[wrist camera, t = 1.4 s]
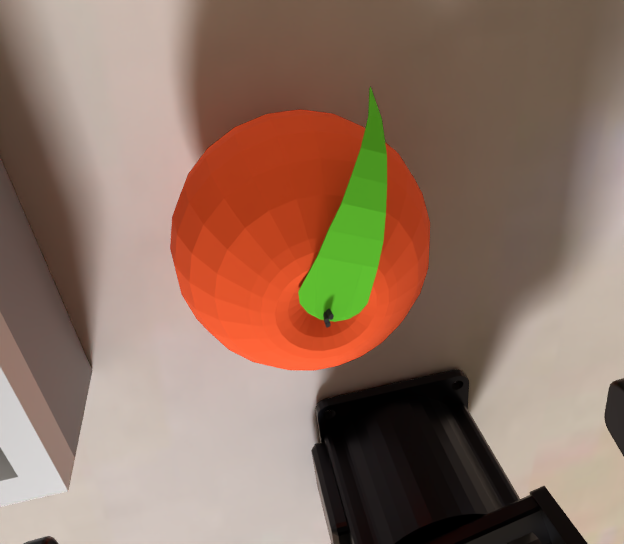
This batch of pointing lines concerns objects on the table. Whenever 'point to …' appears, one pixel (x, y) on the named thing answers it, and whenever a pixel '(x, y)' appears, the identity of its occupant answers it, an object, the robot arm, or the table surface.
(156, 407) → the table surface
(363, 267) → the clementine
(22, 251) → the grey storage bin
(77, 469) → the table surface
